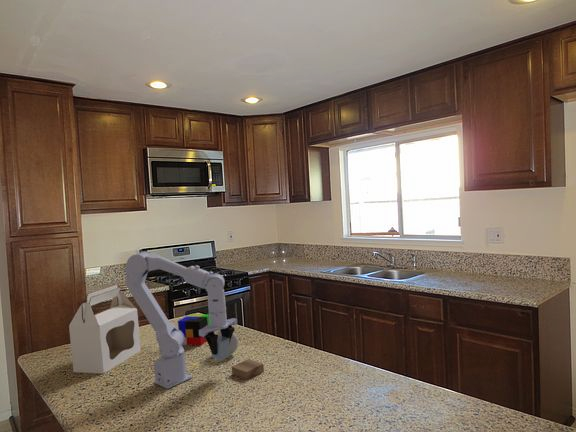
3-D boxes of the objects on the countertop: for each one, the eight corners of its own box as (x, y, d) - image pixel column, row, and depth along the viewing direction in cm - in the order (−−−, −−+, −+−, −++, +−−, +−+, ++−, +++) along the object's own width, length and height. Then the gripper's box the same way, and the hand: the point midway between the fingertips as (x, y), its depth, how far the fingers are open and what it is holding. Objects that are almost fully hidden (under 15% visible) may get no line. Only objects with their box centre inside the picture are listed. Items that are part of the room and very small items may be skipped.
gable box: (103, 374, 142) (95, 296, 141) (72, 372, 146) (65, 296, 145) (141, 350, 164) (135, 282, 163) (113, 349, 167) (107, 283, 166)
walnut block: (247, 381, 129) (246, 372, 129) (232, 375, 134) (231, 366, 134) (263, 372, 135) (263, 363, 135) (249, 367, 140) (248, 358, 140)
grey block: (220, 360, 130) (218, 342, 130) (211, 357, 134) (209, 340, 133) (231, 355, 134) (229, 338, 134) (222, 353, 137) (220, 335, 137)
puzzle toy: (179, 344, 167) (177, 321, 167) (192, 336, 177) (190, 314, 176) (201, 345, 164) (199, 321, 164) (212, 337, 174) (210, 314, 174)
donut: (240, 354, 151) (238, 328, 151) (235, 357, 148) (233, 331, 148) (220, 351, 156) (218, 325, 156) (214, 354, 153) (212, 328, 153)
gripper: (207, 318, 125) (210, 361, 126) (241, 307, 136) (244, 346, 137) (193, 315, 130) (196, 356, 130) (228, 304, 141) (231, 342, 141)
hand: (220, 351), depth 134 cm, fingers closed on grey block, 4 cm apart
